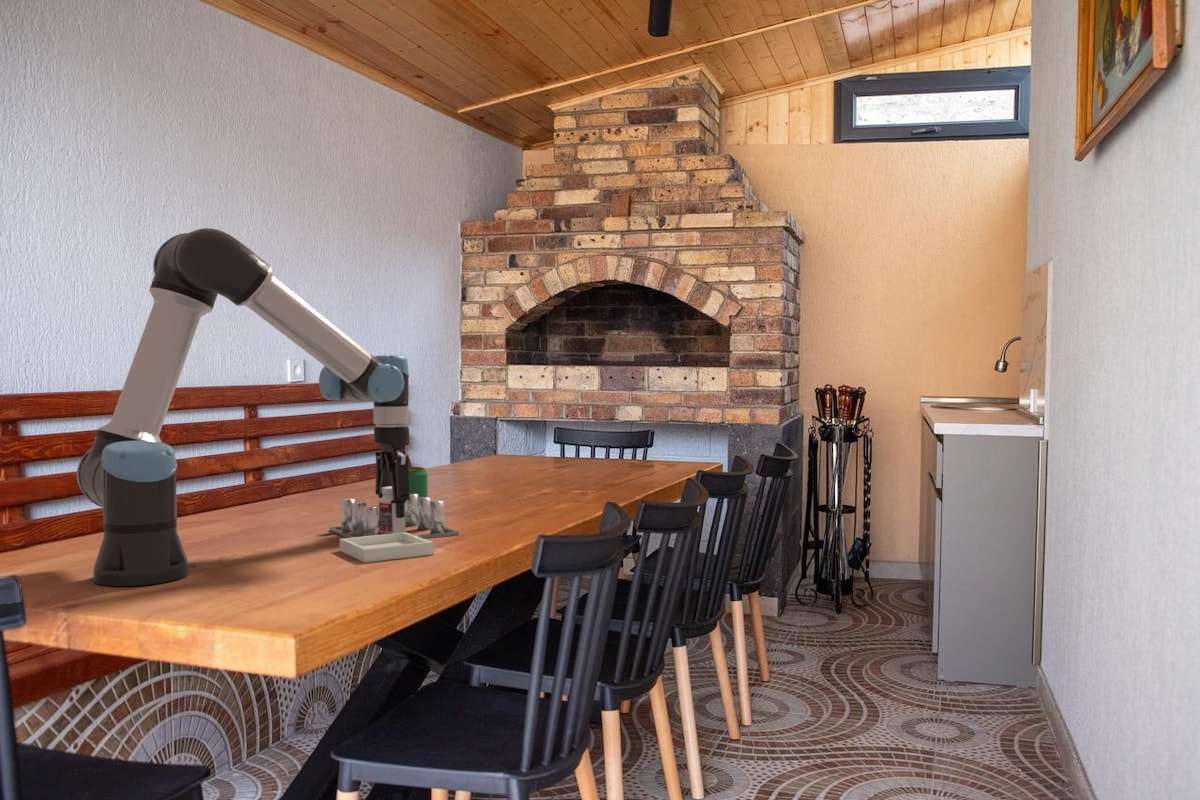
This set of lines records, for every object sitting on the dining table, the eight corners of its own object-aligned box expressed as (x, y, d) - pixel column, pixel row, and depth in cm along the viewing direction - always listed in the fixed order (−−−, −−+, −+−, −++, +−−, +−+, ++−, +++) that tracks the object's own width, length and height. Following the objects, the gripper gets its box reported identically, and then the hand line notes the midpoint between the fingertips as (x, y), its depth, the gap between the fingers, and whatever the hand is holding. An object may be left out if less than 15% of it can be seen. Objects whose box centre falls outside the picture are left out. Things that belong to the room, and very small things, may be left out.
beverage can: (387, 518, 242) (387, 468, 242) (416, 514, 247) (415, 465, 247) (405, 522, 236) (404, 471, 236) (434, 518, 242) (433, 468, 241)
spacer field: (362, 545, 207) (362, 511, 206) (328, 530, 225) (327, 498, 225) (460, 534, 219) (460, 502, 219) (420, 521, 237) (419, 491, 237)
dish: (364, 562, 189) (364, 549, 189) (339, 550, 201) (339, 538, 200) (433, 554, 196) (433, 542, 196) (406, 543, 208) (405, 532, 208)
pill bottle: (377, 534, 219) (376, 489, 219) (381, 530, 225) (381, 485, 225) (403, 534, 220) (403, 488, 219) (407, 529, 225) (407, 485, 225)
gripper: (425, 427, 215) (426, 534, 216) (391, 422, 232) (392, 522, 233) (391, 428, 211) (392, 538, 212) (359, 423, 228) (360, 525, 228)
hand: (392, 529), depth 222 cm, fingers open, 6 cm apart
